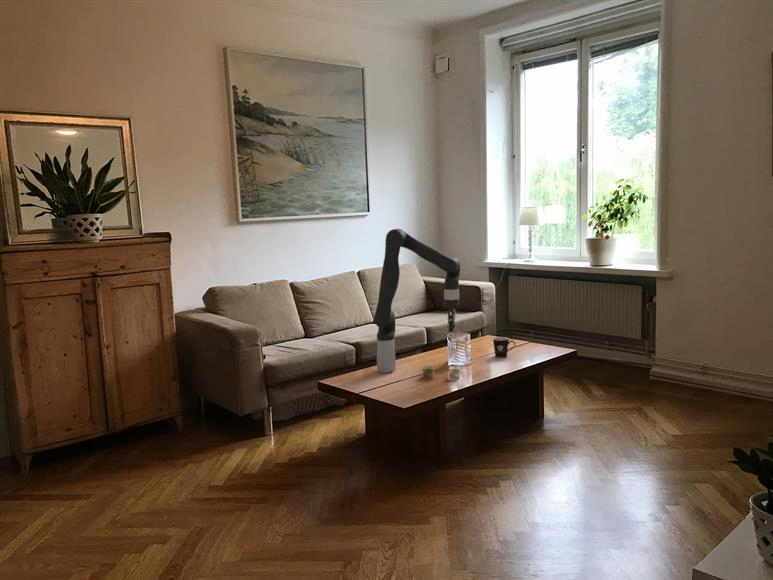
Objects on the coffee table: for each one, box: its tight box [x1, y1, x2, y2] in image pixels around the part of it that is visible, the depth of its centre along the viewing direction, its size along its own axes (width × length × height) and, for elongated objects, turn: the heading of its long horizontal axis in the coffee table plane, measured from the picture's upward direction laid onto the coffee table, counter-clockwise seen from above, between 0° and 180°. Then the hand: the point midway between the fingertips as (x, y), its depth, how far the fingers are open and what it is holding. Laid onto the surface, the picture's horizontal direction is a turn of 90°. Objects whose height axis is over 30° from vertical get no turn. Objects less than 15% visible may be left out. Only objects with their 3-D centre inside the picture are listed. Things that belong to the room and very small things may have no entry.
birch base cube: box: [448, 365, 461, 379], centre depth 311 cm, size 5×5×5 cm
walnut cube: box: [422, 365, 435, 380], centre depth 314 cm, size 5×5×5 cm
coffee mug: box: [492, 336, 516, 358], centre depth 352 cm, size 12×9×10 cm
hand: (451, 329), depth 317 cm, fingers open, 8 cm apart
